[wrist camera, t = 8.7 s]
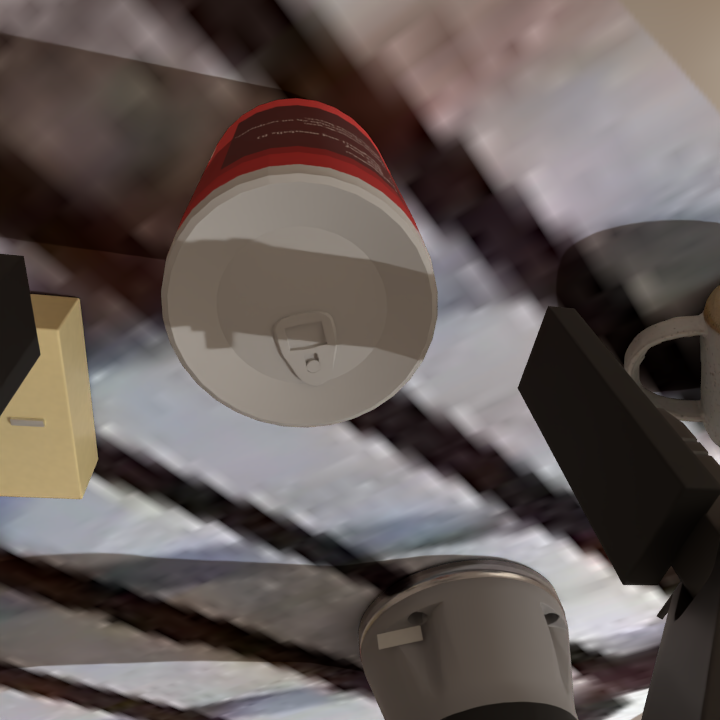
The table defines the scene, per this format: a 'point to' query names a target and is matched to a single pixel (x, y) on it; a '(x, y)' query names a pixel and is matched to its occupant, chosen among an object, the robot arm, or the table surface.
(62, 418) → the tan box
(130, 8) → the table surface
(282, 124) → the canned food
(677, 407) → the ceramic mug
